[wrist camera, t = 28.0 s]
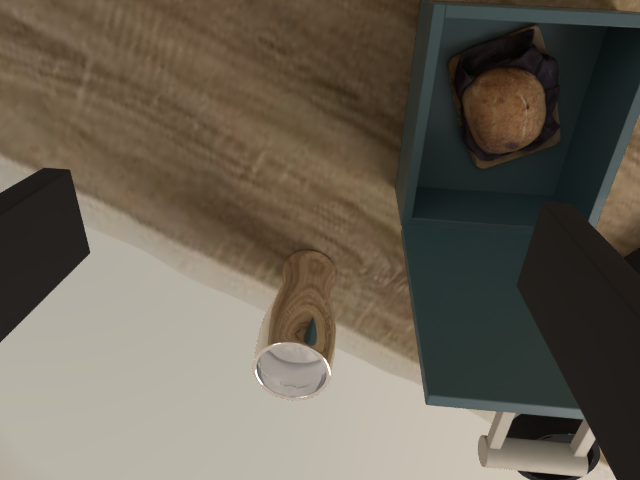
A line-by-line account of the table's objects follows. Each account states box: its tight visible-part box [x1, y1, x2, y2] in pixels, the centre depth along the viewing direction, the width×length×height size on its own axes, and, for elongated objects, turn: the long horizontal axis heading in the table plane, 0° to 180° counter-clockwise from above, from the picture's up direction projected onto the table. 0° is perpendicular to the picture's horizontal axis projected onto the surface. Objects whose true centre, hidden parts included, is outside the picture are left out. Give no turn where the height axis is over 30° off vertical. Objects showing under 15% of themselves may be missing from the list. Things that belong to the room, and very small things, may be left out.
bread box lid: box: [401, 225, 595, 477], centre depth 32 cm, size 17×16×8 cm
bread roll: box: [447, 24, 561, 169], centre depth 38 cm, size 11×8×4 cm
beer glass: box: [252, 250, 336, 400], centre depth 44 cm, size 7×7×15 cm
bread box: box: [395, 0, 640, 234], centre depth 37 cm, size 17×16×8 cm
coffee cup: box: [506, 413, 600, 480], centre depth 47 cm, size 8×8×15 cm
